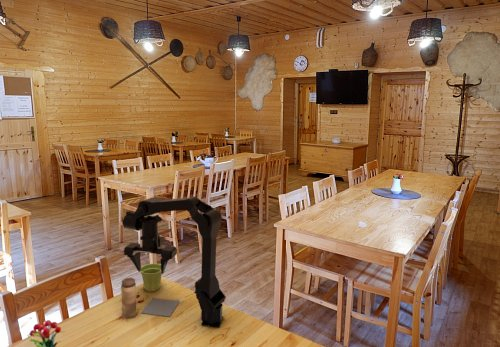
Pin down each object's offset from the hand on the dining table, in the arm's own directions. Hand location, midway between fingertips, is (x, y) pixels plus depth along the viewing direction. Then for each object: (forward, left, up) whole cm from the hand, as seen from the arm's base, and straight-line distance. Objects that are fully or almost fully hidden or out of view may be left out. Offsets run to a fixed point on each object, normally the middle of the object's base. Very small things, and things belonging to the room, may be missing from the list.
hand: (151, 272), depth 142 cm
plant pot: (+5, -11, -13) cm, 17 cm away
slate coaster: (-4, +2, -12) cm, 13 cm away
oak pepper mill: (+5, +9, -12) cm, 16 cm away
